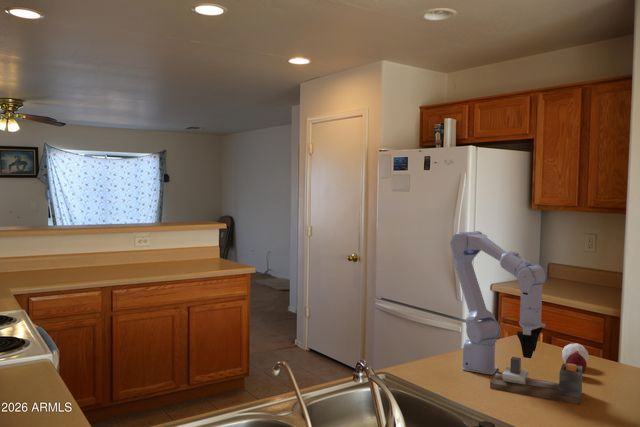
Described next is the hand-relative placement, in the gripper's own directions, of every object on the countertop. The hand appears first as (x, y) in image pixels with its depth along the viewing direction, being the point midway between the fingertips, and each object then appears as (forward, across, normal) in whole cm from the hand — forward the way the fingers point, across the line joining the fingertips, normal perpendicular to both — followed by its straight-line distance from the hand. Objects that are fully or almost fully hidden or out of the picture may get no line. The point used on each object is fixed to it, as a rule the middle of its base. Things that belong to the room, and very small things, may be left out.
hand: (529, 354), depth 154 cm
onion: (+10, +17, -12) cm, 22 cm away
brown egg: (+4, -2, -11) cm, 12 cm away
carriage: (+8, -2, +3) cm, 9 cm away
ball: (+10, +27, -11) cm, 30 cm away
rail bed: (+9, -2, -2) cm, 10 cm away
